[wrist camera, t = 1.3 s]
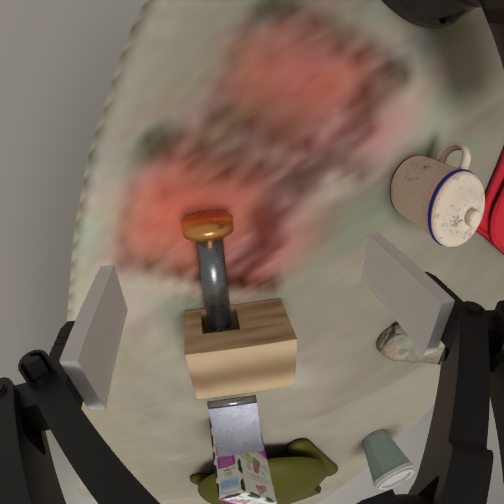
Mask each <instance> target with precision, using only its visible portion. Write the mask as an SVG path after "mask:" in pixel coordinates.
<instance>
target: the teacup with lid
mask: <svg viewBox="0 0 504 504" xmlns="http://www.w3.org/2000/svg"><path fill="white" fill-rule="evenodd" d="M455 150H462V154H463V155H462V160H461V163H460V166H459V168H455V167H453V166H450V165H448V164H445V161H446V159H447V157H448V155H449V154H450V153H451V152H453V151H455ZM470 160H471V155H470V151H469V149H468V148H467V147H466V146H465V145H464V144H462V143H459V142H453V143H449V144H447V145H446V146H445V147H443V149H442V150H441V151H440V153H439V155H438V157H437V160H434V159H431V158H428V157H425V156H413V157H411V158H409V159H407V160H405V161H404V162H403V163H402V164H401V165H400V166H399V168H398V169H397V171H396V173H395V175H394V177H393V180H392V184H391V199H392V203H393V205H394V208H395V209H396V211H397V212H398V213H399V214H400V215H401V216H403V217H404V218H406V219H407V220H409V221H410V222H412V223H413V224H415V225H416V226H418V227H419V228H420V229H422V230H423V231H425V232H426V233H428V234H429V235H430V236H432V238H433V239H434V240H435V241H436V242H437V243H438V244H440V245H442V246H446V247H454V246H458V245H460V244H462V243H464V242H465V241H467V240H468V239H469V238H470V237H471V236H472V235H473V234H474V232H475V231H476V229H477V227H478V226H479V224H480V221H481V219H482V216H483V212H484V206H485V195H484V190H483V186H482V184H481V182H480V180H479V179H478V178H477V177H476V176H475V174H473V173H472V172H471V171H469V170H468V168H469V165H470Z"/></svg>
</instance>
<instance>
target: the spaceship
mask: <svg viewBox="0 0 504 504" xmlns="http://www.w3.org/2000/svg"><path fill="white" fill-rule="evenodd" d="M287 449H288V451H289V452H290V453H292V454H293V455H294V456H295V457H282V458H272V459H267V461H268V465H269V469H270V474H271V478H272V482H273V487H274V492H275V495H276V499H277V504H290V503H293V502H296V501H299V500H302V499H305V498H308V497H311V496H313V495H316V494H319V493H320V491H321V487H320V486H319V484H320V483H321V482H322V481H323V480H324V479H325V478H326V477H327V476H331V475H333V474H335V473H336V472H337V471H338V467H337V466H336V465H335V464H334V463H332V462H331V461H330V460H329V459H328V458H327V457H326V456H325V455H324V454H322V453H321V452H320V451H319V450H318V449H317V448H316V447H315V446H314V445H313V444H312V443H311V442H310V441H309V440H306V439H298V440H295V441H293V442H291V443H290V444H289V445H288V447H287ZM190 481H191V482H192V483H194V484H196V485H199V486H198V492H199V494H200V496H201V497H202V498H203V499H204V500H206V501H207V502H209V503H211V504H232V503H228V502H225V501H222V500H219V499H218V492H217V485H216V476H215V473H214V474H212V475H207V474H194V475H192V476H191V477H190Z"/></svg>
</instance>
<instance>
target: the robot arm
mask: <svg viewBox="0 0 504 504" xmlns="http://www.w3.org/2000/svg"><path fill="white" fill-rule="evenodd" d="M383 1H384V2H385V3H386V4H387V5H388V6H389V7H390V8H391V9H392V10H393V11H394V12H396V13H397V14H398V15H400V16H401V17H403V18H404V19H406V20H407V21H409V22H411V23H413V24H416V25H419V26H422V27H427V28H436V27H442V26H448V25H451V24H453V23H455V22H456V21H458V20H459V19H460V18H462V17H463V16H465V15H466V14H467V13H469V12H470V11H472V10H473V9H474V8H477V7H482V9H483V11H484V14H485V16H486V19H487V21H488V24H489V27H490V29H491V32H492V35H493V37H494V40H495V43H496V46H497V49H498V52H499V55H500V58H501V62H502V65H503V69H504V0H383ZM362 279H363V280H364V281H365V283H366V284H367V285H368V286H369V288H370V289H371V290H372V291H373V292H374V294H375V295H376V296H377V297H378V298H379V300H380V301H381V302H382V303H383V305H384V306H385V307H386V308H387V310H388V311H389V312H390V313H391V315H392V316H393V317H394V318H395V320H396V321H397V322H398V323H399V325H400V326H401V327H402V328H403V330H404V331H405V332H406V334H407V335H408V336H409V337H410V339H411V340H412V341H413V343H414V344H415V345H416V347H417V348H418V349H419V350H420V352H421V353H422V354H423V356H425V355H428V354H430V353H433V352H436V351H437V349H438V347H439V344H440V341H442V343H443V344H444V345H445V348H444V350H443V352H442V355H441V357H440V359H439V362H438V365H440V363H441V370H440V377H439V383H438V389H437V395H436V401H435V406H434V411H433V416H432V421H431V426H430V430H429V434H428V438H427V442H426V447H425V450H424V454H423V458H422V461H421V465H420V468H419V472H418V475H417V478H416V480H415V482H414V484H413V486H412V487H411V489H410V491H409V493H408V494H398V495H395V494H394V491H393V489H391V490H389V491H386V492H384V493H381V494H378V495H376V496H373V497H370V498H367V499H365V500H362V501H360V502H359V503H357V504H486V502H487V497H488V491H489V486H490V479H491V473H492V465H493V452H492V450H487V435H488V422H489V401H490V398H491V403H492V408H493V413H494V418H495V423H496V428H497V434H498V440H499V447H500V454H501V463H502V472H503V482H504V300H502V301H499V302H498V303H497V305H496V308H495V310H485V309H484V308H483V307H482V306H481V305H479V304H477V303H475V302H470V301H466V302H463V301H462V300H461V299H460V298H459V297H458V296H457V295H456V294H455V293H454V292H452V291H451V290H450V289H449V288H447V286H446V285H445V284H444V283H442V281H440V280H439V279H438V278H437V277H436V276H434V275H432V274H430V273H428V272H424V271H423V270H422V269H420V268H419V267H418V266H417V265H416V264H415V263H414V262H413V261H411V260H410V259H409V258H408V257H407V256H406V255H405V254H403V253H402V252H401V251H400V250H399V249H398V248H396V247H395V246H394V245H393V244H392V243H390V242H389V241H388V240H387V239H386V238H385V237H383V236H382V235H381V234H380V233H376V234H367V242H366V251H365V260H364V268H363V275H362ZM127 311H128V309H127V306H126V303H125V300H124V297H123V293H122V290H121V287H120V283H119V280H118V277H117V273H116V270H115V266H114V265H112V266H104V267H100V269H99V271H98V273H97V275H96V277H95V279H94V281H93V283H92V285H91V288H90V290H89V292H88V294H87V296H86V298H85V300H84V303H83V305H82V307H81V309H80V312H79V314H78V316H77V318H76V321H68V322H67V323H66V324H65V325H64V326H63V327H62V328H61V329H60V331H59V334H58V336H57V339H56V340H55V343H54V346H53V347H52V349H51V352H50V354H49V356H48V354H47V353H46V352H45V351H43V350H33V351H31V352H28V353H27V354H26V355H24V356H23V357H22V359H21V360H20V362H19V365H18V368H19V371H20V373H21V374H22V376H23V378H24V379H25V381H26V382H27V383H23V384H19V385H14V384H13V382H12V381H11V380H10V379H9V378H5V377H4V378H0V504H66V502H65V500H64V497H63V494H62V491H61V488H60V485H59V481H58V478H57V475H56V471H55V468H54V464H53V461H52V457H51V453H50V449H49V445H48V441H47V436H46V432H45V430H50V429H51V431H52V433H53V435H54V437H55V438H56V440H57V442H58V444H59V445H60V447H61V449H62V450H63V452H64V454H65V456H66V457H67V458H68V460H69V462H70V463H71V465H72V467H73V468H74V470H75V471H76V473H77V474H78V476H79V477H80V479H81V480H82V482H83V483H84V485H85V486H86V487H87V489H88V490H89V492H90V493H91V494H92V496H93V497H94V499H95V500H96V501H97V502H98V504H160V503H159V502H158V501H157V500H156V499H155V498H154V497H153V496H152V495H151V494H150V493H149V492H148V491H147V490H146V489H145V488H144V486H143V485H142V484H141V483H140V482H139V481H138V480H137V479H136V478H135V477H134V476H133V474H132V473H131V472H130V471H129V470H128V469H127V468H126V466H125V465H124V464H123V463H122V462H121V461H120V459H119V458H118V457H117V456H116V455H115V453H114V452H113V451H112V450H111V448H110V447H109V446H108V445H107V443H106V442H105V441H104V439H103V438H102V437H101V436H100V434H99V433H98V432H97V430H96V429H95V428H94V426H93V425H92V423H91V422H90V421H89V419H88V418H87V416H86V415H85V414H84V412H83V411H82V409H81V407H82V403H83V401H84V403H85V404H86V406H87V407H88V409H98V410H106V406H107V401H108V395H109V390H110V385H111V380H112V375H113V370H114V365H115V361H116V356H117V352H118V347H119V343H120V339H121V335H122V331H123V327H124V323H125V319H126V315H127ZM441 361H442V362H441Z"/></svg>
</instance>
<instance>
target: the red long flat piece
mask: <svg viewBox="0 0 504 504" xmlns="http://www.w3.org/2000/svg"><path fill="white" fill-rule="evenodd" d="M476 231H477V232H478V233H479V234H481V235H482V236H483V237H485V238H486V239H487V240H488V241H489V242H491V243H492V244H493V245H494V246H495V247H496V248H497V249H498V250H499V251H500V252H501V253H502V254H503V255H504V148H503V150H502V153H501V156H500V159H499V162H498V164H497V167H496V169H495V171H494V174H493V176H492V179H491V181H490V183H489V186H488V188H487V191H486V193H485V206H484V212H483V216H482V219H481V221H480V224H479V226H478V227H477V229H476Z"/></svg>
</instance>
